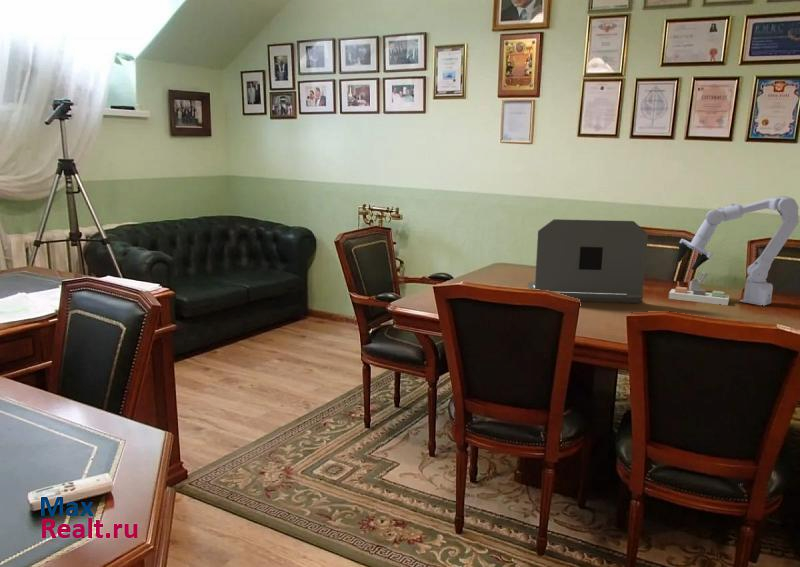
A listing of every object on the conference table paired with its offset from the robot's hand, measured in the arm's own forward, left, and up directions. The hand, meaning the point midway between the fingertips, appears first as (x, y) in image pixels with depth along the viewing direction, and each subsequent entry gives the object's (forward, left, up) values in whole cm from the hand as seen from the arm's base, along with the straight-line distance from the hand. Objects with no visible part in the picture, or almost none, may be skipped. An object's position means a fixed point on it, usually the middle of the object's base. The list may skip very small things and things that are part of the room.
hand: (685, 265), depth 260 cm
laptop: (+29, +32, -14) cm, 45 cm away
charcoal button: (-8, +2, -12) cm, 14 cm away
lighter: (+1, -16, -13) cm, 21 cm away
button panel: (-8, +2, -13) cm, 15 cm away
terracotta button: (-1, +4, -12) cm, 13 cm away
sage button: (-14, -1, -12) cm, 19 cm away
